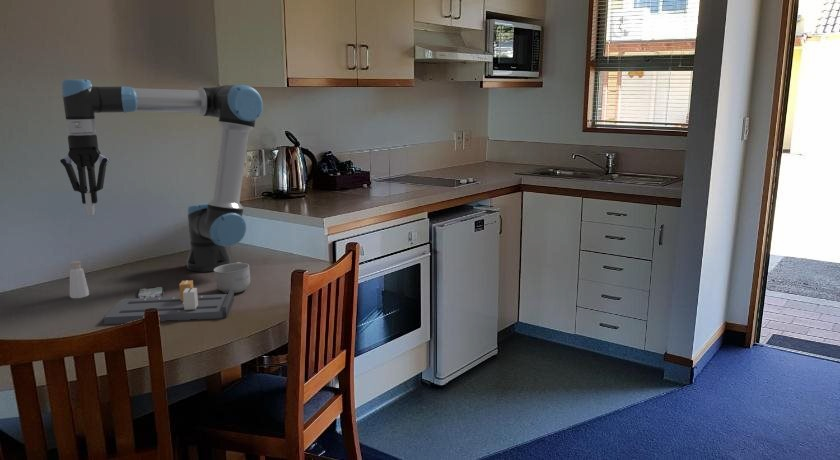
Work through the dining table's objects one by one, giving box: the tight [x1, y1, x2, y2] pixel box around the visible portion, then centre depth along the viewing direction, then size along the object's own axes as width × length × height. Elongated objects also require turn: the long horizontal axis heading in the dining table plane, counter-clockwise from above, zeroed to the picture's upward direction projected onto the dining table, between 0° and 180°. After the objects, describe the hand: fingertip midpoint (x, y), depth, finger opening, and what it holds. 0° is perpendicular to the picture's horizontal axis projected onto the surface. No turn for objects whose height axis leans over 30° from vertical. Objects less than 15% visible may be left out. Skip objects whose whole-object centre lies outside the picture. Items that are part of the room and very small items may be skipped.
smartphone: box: [136, 286, 164, 298], centre depth 198 cm, size 7×1×15 cm
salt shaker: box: [69, 260, 90, 299], centre depth 198 cm, size 5×5×11 cm
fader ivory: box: [183, 287, 198, 310], centre depth 180 cm, size 4×3×5 cm
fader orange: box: [178, 279, 194, 301], centre depth 187 cm, size 4×3×5 cm
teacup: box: [213, 261, 251, 294], centre depth 204 cm, size 14×11×8 cm
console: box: [103, 290, 235, 325], centre depth 184 cm, size 16×32×3 cm, turn 98°
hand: (91, 214), depth 191 cm, fingers closed
